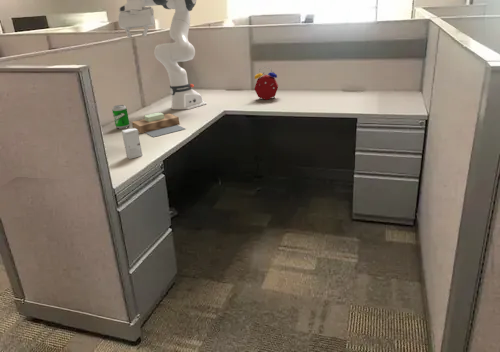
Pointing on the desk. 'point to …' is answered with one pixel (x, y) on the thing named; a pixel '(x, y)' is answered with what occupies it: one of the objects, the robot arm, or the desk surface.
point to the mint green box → (154, 117)
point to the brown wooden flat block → (156, 123)
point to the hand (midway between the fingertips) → (136, 36)
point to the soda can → (120, 116)
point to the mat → (165, 130)
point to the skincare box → (132, 143)
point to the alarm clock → (266, 85)
